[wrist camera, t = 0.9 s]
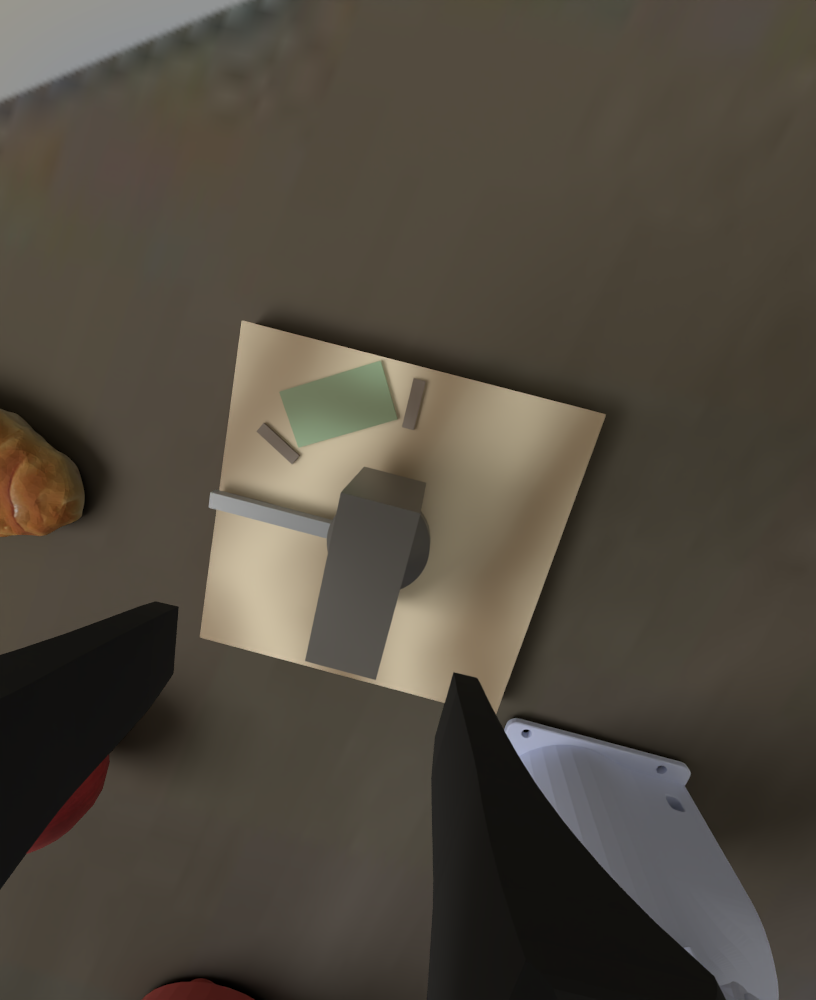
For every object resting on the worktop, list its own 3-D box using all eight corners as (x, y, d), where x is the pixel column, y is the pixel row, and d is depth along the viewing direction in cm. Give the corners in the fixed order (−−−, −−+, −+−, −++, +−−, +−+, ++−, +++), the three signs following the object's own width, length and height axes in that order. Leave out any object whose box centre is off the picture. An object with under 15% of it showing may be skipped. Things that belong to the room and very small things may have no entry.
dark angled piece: (447, 482, 19) (448, 520, 14) (411, 612, 21) (400, 686, 16) (227, 425, 19) (151, 442, 14) (210, 559, 21) (137, 616, 16)
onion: (50, 666, 25) (-124, 794, 18) (149, 701, 25) (19, 844, 18) (40, 745, 27) (-124, 894, 19) (132, 778, 27) (6, 940, 19)
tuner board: (596, 412, 19) (607, 414, 18) (492, 699, 23) (495, 718, 22) (253, 323, 19) (240, 319, 18) (211, 624, 24) (198, 639, 22)
